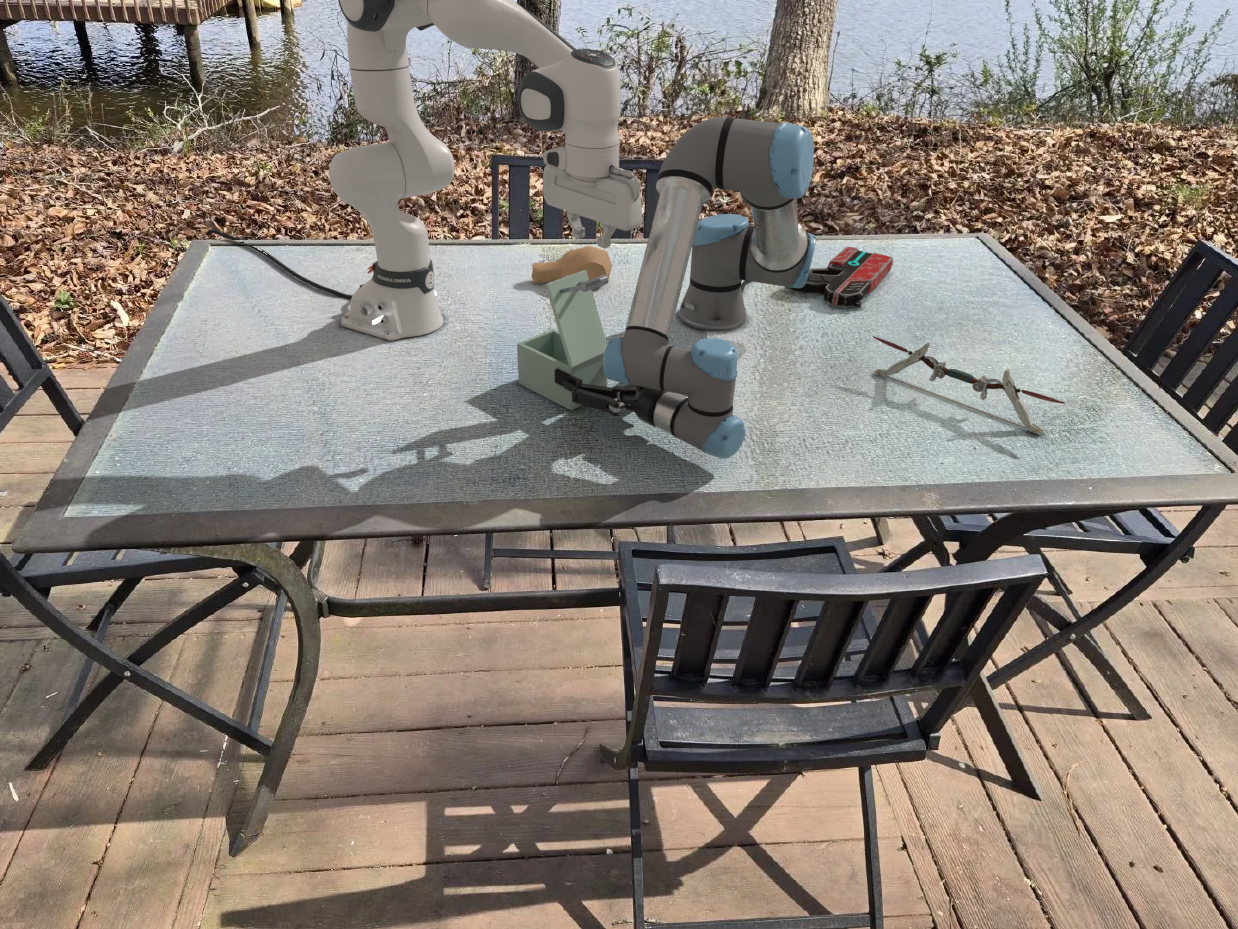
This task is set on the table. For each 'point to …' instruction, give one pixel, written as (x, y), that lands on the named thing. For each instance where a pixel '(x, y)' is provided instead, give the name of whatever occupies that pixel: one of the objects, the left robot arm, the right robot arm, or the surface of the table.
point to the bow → (978, 385)
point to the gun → (847, 277)
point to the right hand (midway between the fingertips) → (575, 366)
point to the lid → (578, 316)
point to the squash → (574, 265)
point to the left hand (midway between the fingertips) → (591, 242)
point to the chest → (545, 357)
